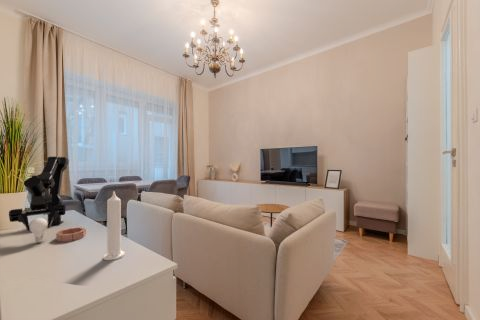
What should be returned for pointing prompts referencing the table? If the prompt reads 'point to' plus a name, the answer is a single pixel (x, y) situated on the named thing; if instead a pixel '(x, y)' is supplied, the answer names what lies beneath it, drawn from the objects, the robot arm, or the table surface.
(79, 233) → the holder
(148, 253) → the table surface
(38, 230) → the lightbulb
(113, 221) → the candle
